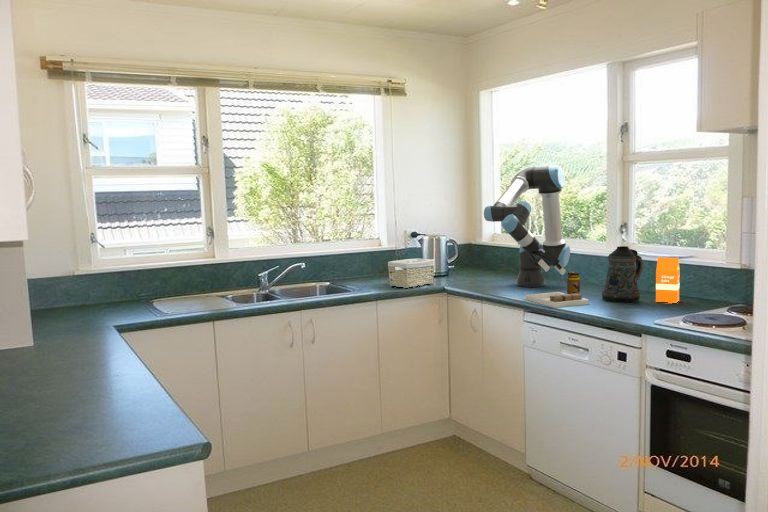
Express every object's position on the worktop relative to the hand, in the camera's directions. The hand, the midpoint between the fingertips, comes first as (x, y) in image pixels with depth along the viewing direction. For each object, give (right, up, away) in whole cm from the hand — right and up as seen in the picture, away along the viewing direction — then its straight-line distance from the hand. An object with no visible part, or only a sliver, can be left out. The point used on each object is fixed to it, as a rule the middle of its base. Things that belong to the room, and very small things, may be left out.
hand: (555, 271), depth 299 cm
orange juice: (+46, -14, -16) cm, 51 cm away
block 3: (+5, -14, -15) cm, 21 cm away
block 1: (-5, -15, -18) cm, 24 cm away
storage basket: (-66, -10, +57) cm, 88 cm away
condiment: (+9, -13, +4) cm, 16 cm away
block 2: (0, -14, -17) cm, 22 cm away
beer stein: (+28, -13, -9) cm, 32 cm away
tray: (-2, -14, -10) cm, 17 cm away
